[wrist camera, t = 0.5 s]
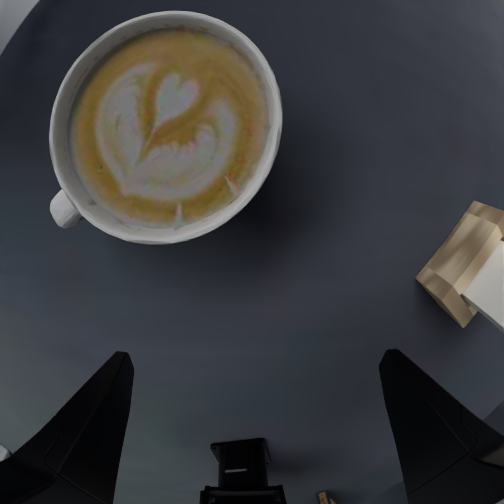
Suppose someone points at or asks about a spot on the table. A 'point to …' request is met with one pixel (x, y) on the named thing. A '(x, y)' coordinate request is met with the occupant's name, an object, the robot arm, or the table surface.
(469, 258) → the oak box
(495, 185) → the table surface
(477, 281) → the cover plate
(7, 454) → the hard drive box
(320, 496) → the ammunition clip
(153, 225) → the coffee mug
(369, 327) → the table surface
